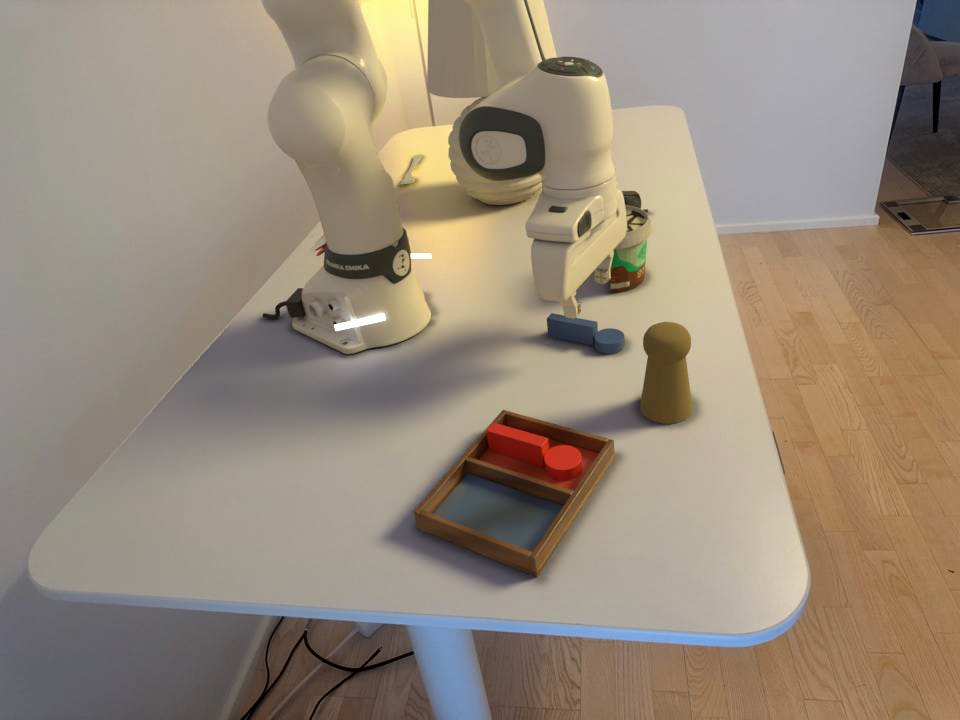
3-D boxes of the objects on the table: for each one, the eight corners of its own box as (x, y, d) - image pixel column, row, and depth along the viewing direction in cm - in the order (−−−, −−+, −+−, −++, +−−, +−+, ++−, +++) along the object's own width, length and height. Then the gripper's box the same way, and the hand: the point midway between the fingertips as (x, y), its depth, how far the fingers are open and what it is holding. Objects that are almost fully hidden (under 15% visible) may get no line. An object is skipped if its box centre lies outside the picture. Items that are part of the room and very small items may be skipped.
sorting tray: (417, 529, 74) (413, 511, 72) (505, 426, 86) (503, 409, 84) (537, 577, 67) (535, 558, 65) (614, 458, 79) (614, 439, 77)
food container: (651, 297, 107) (651, 235, 101) (609, 297, 108) (607, 236, 103) (652, 259, 116) (652, 201, 111) (613, 260, 118) (612, 203, 112)
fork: (424, 155, 179) (423, 148, 178) (412, 190, 159) (410, 182, 158) (412, 156, 179) (410, 149, 178) (397, 192, 159) (396, 184, 158)
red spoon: (483, 457, 81) (480, 436, 79) (501, 436, 83) (498, 415, 82) (572, 485, 75) (570, 464, 73) (588, 461, 78) (587, 440, 76)
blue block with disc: (544, 340, 101) (542, 322, 99) (556, 326, 103) (555, 308, 102) (617, 356, 95) (617, 337, 93) (629, 341, 98) (628, 322, 96)
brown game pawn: (655, 387, 88) (655, 310, 82) (701, 401, 85) (705, 322, 79) (630, 413, 85) (628, 334, 79) (677, 430, 81) (679, 349, 75)
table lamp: (592, 183, 148) (583, -35, 126) (511, 229, 134) (485, -8, 112) (502, 167, 164) (479, -30, 142) (421, 206, 150) (382, -6, 128)
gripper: (592, 167, 96) (598, 260, 104) (517, 231, 83) (531, 332, 90) (636, 169, 93) (640, 265, 100) (567, 236, 79) (577, 341, 87)
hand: (588, 297), depth 95 cm, fingers open, 8 cm apart
